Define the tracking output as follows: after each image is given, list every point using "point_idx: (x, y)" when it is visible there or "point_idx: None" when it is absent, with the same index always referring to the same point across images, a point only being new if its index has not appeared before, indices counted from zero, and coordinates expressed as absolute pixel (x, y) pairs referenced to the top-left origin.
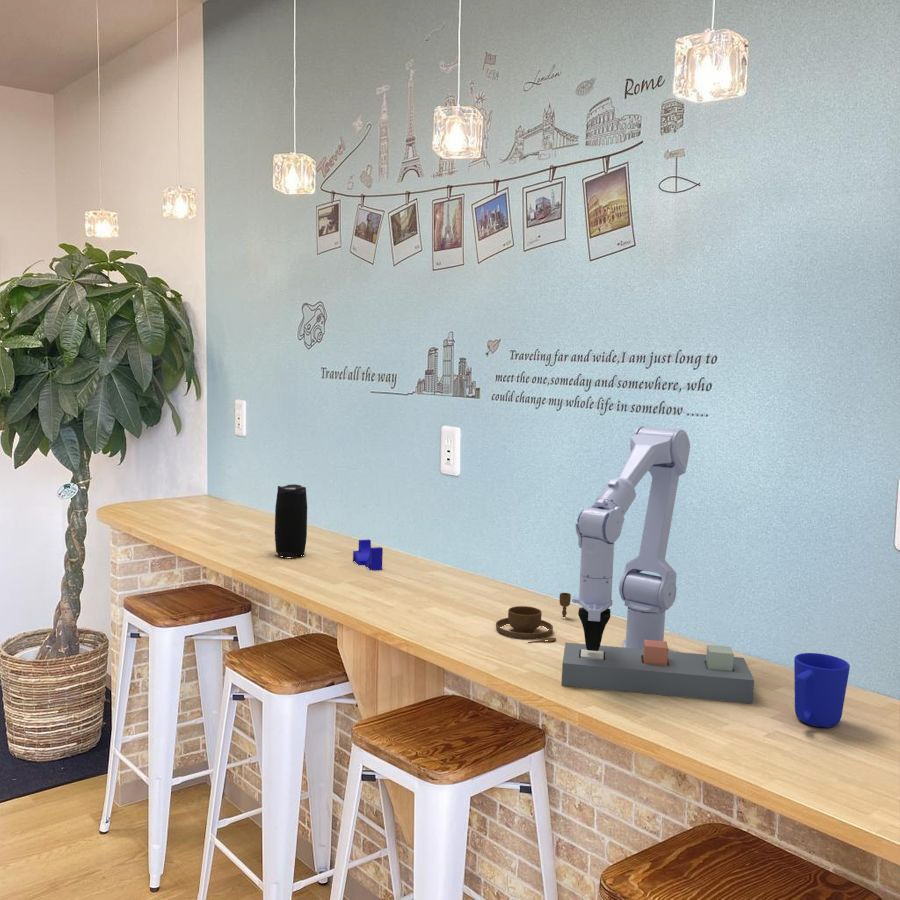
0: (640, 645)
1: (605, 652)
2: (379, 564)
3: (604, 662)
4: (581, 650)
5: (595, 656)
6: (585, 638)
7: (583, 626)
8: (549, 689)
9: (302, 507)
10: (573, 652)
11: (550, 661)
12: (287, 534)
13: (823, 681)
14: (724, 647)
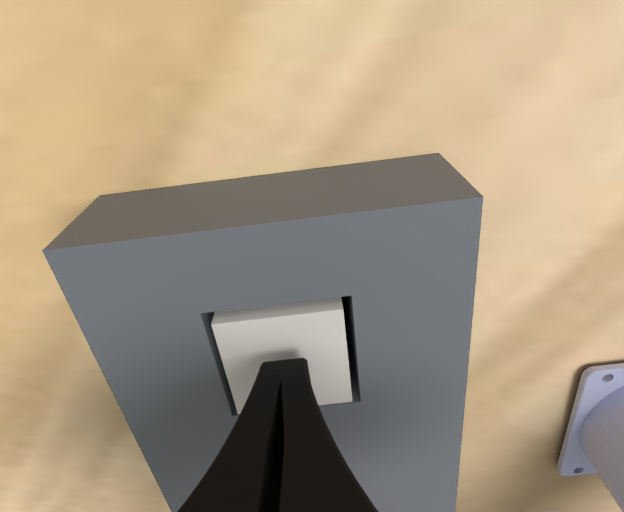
0: (609, 447)
1: (352, 404)
2: None
3: (194, 417)
4: (320, 313)
5: (246, 383)
6: (239, 416)
7: (183, 505)
8: (8, 150)
9: None
10: (284, 273)
11: (455, 69)
12: None
13: None
14: None
